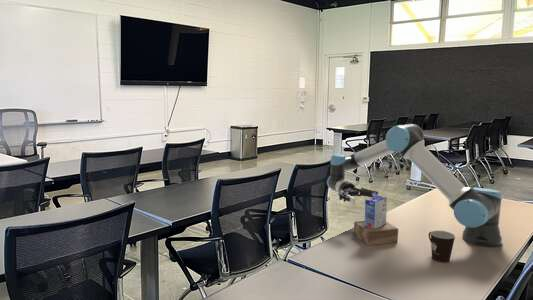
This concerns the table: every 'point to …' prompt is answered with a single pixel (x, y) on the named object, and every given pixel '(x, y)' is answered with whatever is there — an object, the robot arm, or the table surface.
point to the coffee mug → (441, 245)
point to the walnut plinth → (376, 233)
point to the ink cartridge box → (375, 211)
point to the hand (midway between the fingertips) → (367, 200)
